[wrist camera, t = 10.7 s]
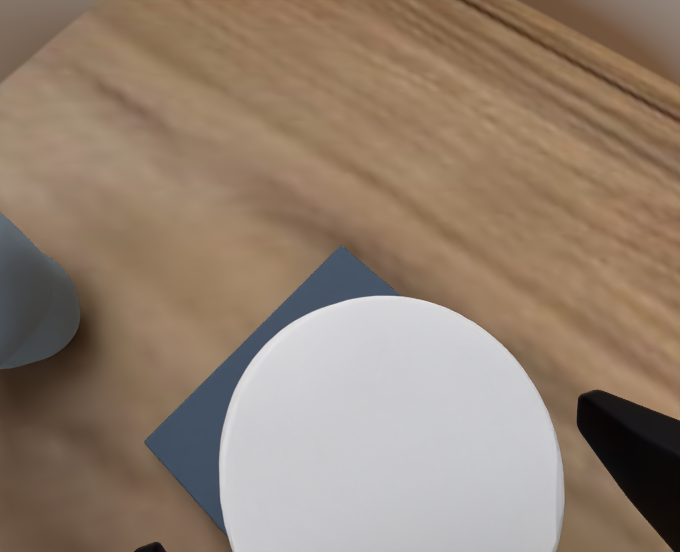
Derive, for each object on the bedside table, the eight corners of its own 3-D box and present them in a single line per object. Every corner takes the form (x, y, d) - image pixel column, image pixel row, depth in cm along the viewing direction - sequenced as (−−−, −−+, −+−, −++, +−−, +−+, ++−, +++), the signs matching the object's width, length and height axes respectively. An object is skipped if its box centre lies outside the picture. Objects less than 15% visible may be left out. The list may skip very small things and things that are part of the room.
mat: (544, 422, 17) (551, 422, 16) (362, 681, 14) (363, 691, 14) (340, 249, 19) (341, 244, 19) (149, 441, 16) (142, 442, 16)
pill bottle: (324, 325, 17) (316, 178, 7) (461, 403, 16) (684, 367, 6) (238, 469, 16) (54, 558, 5) (387, 566, 15) (527, 911, 4)
